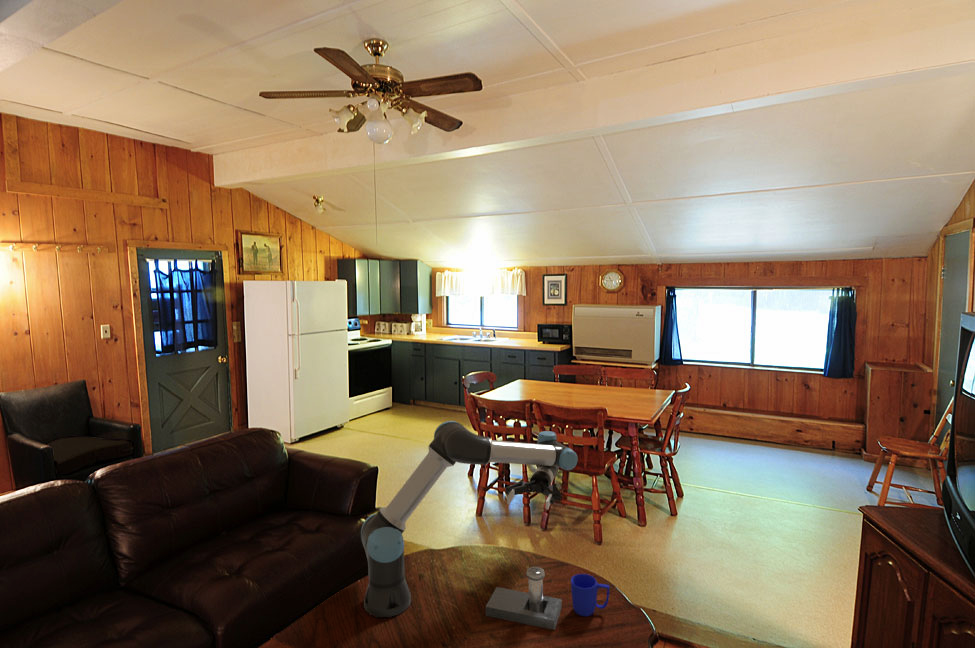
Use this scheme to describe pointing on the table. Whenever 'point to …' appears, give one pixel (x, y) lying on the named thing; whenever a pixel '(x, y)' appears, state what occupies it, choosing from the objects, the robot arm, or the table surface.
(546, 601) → the jig
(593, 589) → the mug
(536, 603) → the silver metal peg
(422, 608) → the table surface
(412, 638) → the table surface
